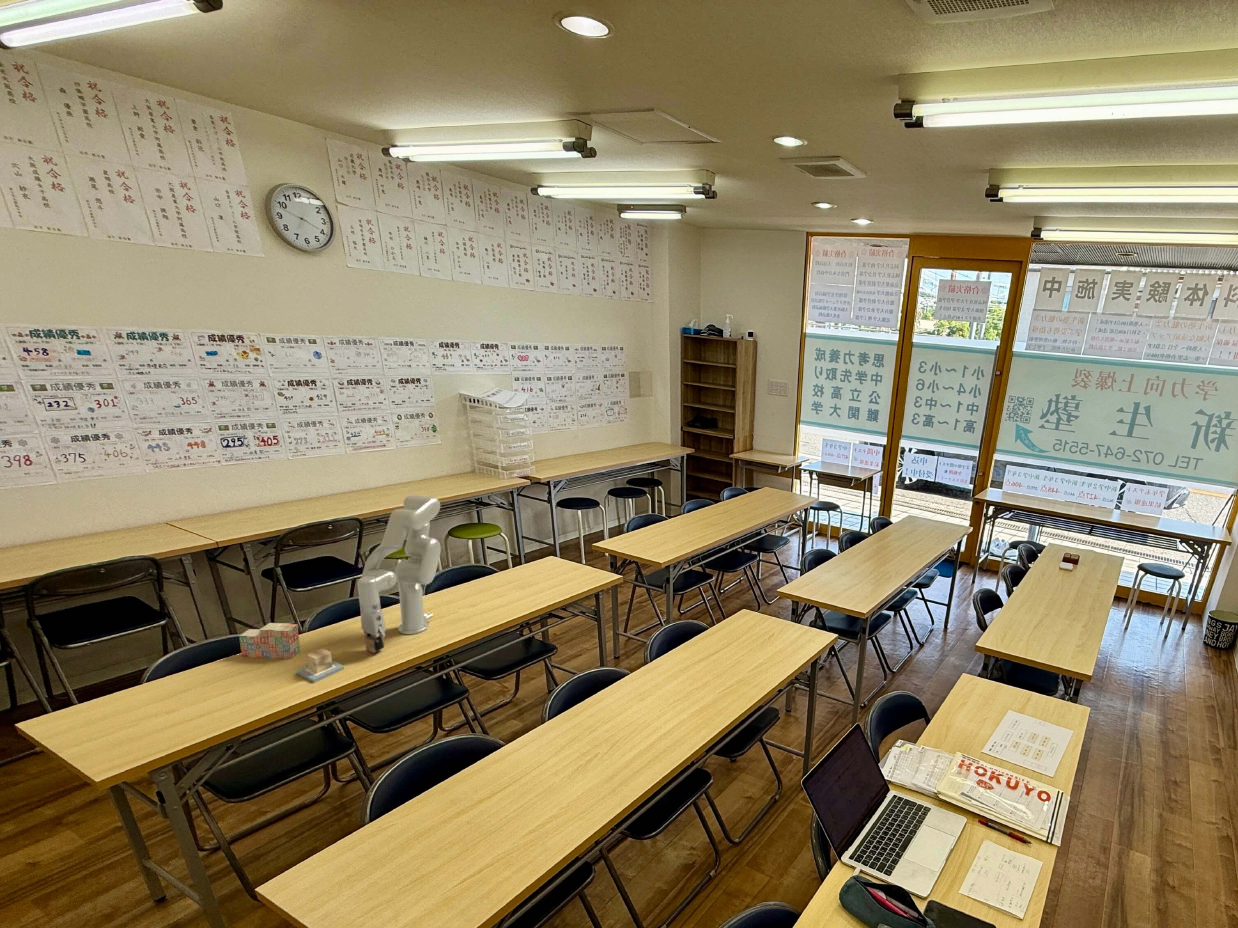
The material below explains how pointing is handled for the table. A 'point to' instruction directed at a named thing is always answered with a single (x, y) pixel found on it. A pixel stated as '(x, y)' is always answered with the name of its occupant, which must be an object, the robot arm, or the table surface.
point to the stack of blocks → (271, 641)
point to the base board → (316, 677)
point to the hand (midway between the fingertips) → (375, 647)
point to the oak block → (319, 660)
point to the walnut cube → (371, 643)
